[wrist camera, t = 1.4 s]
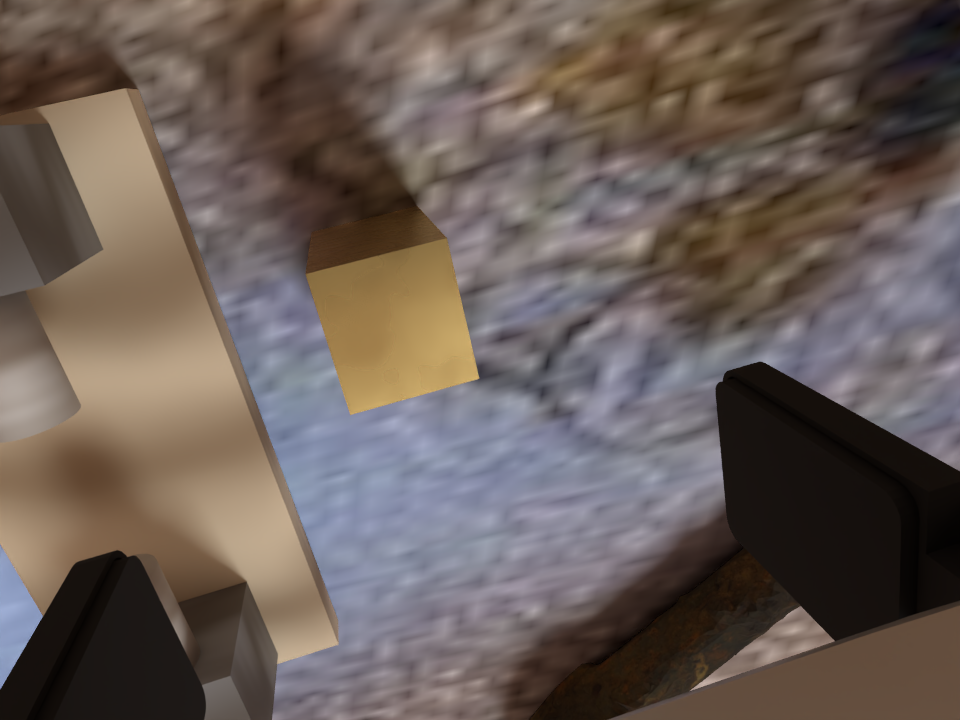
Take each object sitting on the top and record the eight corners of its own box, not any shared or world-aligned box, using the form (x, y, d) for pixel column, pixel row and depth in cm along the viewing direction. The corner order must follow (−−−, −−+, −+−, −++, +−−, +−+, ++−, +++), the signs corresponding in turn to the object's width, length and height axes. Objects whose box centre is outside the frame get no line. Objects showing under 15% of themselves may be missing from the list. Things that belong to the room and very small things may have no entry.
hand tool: (781, 487, 34) (845, 541, 30) (812, 536, 36) (877, 594, 31) (483, 707, 35) (504, 789, 31) (526, 745, 37) (551, 829, 32)
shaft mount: (-189, 160, 21) (-395, 180, 15) (138, 89, 22) (67, 81, 16) (114, 691, 30) (60, 837, 24) (338, 620, 31) (340, 742, 25)
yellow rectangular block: (311, 231, 25) (305, 274, 18) (416, 205, 25) (446, 238, 19) (345, 341, 27) (350, 414, 20) (443, 314, 27) (479, 378, 21)
